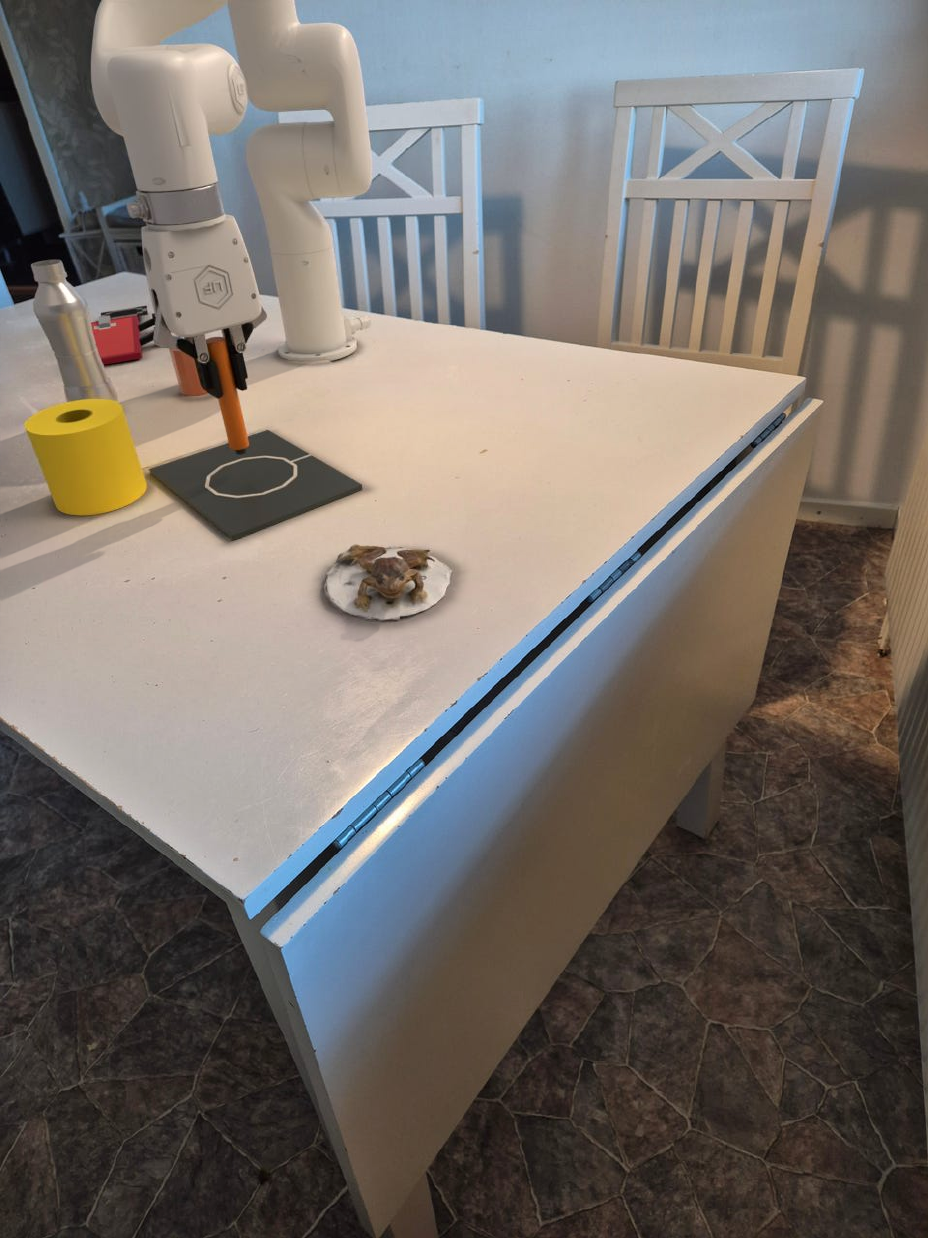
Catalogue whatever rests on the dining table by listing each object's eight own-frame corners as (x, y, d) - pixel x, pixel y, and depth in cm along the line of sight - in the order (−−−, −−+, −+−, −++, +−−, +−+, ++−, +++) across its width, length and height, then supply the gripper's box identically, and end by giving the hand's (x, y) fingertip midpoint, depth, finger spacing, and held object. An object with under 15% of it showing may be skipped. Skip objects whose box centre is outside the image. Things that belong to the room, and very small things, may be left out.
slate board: (268, 433, 105) (267, 428, 104) (362, 489, 91) (362, 483, 90) (150, 473, 97) (148, 468, 97) (232, 540, 83) (231, 535, 82)
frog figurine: (466, 609, 71) (464, 572, 69) (329, 632, 69) (322, 595, 67) (441, 544, 80) (439, 510, 78) (320, 563, 78) (314, 528, 76)
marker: (245, 446, 95) (219, 334, 87) (254, 452, 93) (228, 339, 86) (228, 452, 94) (200, 339, 86) (236, 458, 92) (209, 344, 85)
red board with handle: (158, 308, 156) (76, 321, 153) (153, 293, 154) (71, 306, 151) (166, 356, 133) (70, 373, 130) (161, 339, 131) (64, 355, 128)
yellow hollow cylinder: (156, 497, 92) (132, 418, 86) (64, 524, 88) (32, 443, 82) (134, 467, 99) (111, 391, 93) (48, 490, 95) (18, 413, 89)
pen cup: (208, 384, 121) (196, 337, 117) (223, 392, 118) (211, 344, 114) (176, 393, 119) (163, 345, 115) (190, 402, 115) (178, 353, 111)
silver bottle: (106, 424, 110) (54, 269, 98) (62, 423, 112) (6, 269, 100) (131, 406, 115) (85, 256, 103) (89, 405, 117) (38, 257, 105)
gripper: (116, 226, 72) (172, 422, 83) (275, 197, 80) (306, 379, 91) (87, 216, 77) (144, 402, 88) (240, 189, 84) (274, 363, 95)
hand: (226, 389), depth 89 cm, fingers closed on marker, 2 cm apart
